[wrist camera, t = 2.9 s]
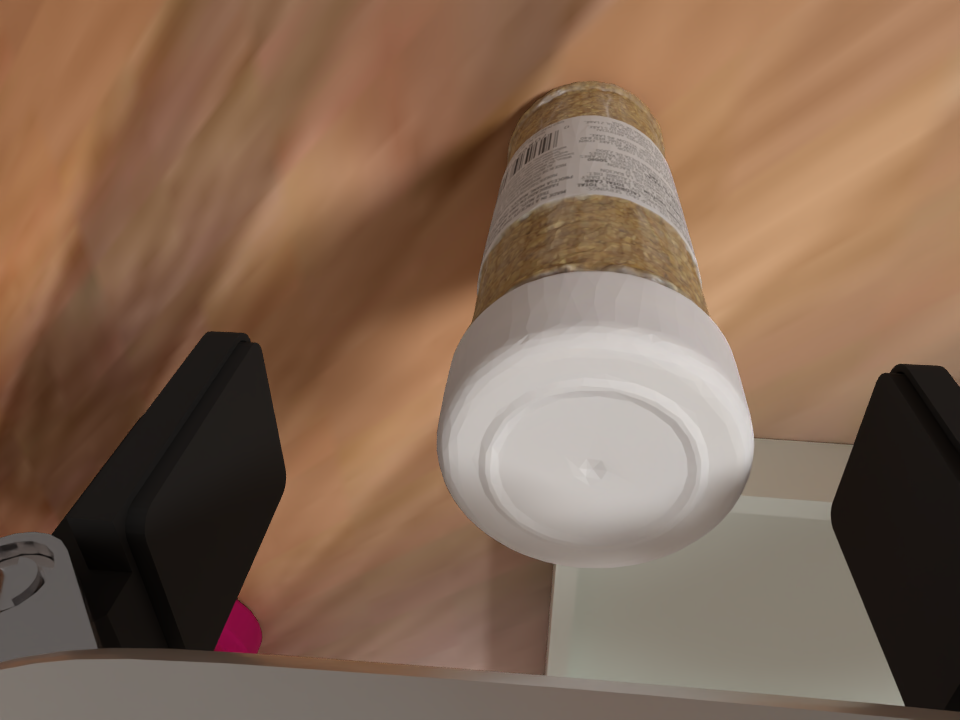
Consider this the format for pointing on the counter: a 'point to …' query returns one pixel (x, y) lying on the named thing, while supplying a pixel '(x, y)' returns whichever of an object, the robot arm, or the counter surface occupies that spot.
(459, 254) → the counter surface
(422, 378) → the counter surface
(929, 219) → the counter surface
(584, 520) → the sprinkles bottle
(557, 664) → the tray
